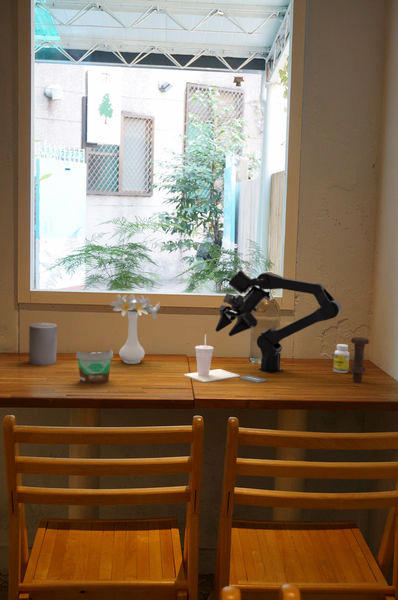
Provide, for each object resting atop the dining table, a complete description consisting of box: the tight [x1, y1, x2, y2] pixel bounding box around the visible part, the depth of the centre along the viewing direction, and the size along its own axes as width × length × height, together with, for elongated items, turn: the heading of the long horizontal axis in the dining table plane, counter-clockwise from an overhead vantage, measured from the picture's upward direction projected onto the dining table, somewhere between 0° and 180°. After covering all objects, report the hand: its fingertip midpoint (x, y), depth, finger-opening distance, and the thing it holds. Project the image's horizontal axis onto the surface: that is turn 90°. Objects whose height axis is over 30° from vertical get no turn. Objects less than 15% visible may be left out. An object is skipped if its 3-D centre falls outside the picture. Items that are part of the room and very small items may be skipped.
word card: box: [238, 374, 268, 384], centre depth 223 cm, size 5×8×1 cm, turn 48°
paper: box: [183, 368, 241, 383], centre depth 226 cm, size 16×11×1 cm
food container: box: [75, 348, 114, 385], centre depth 211 cm, size 12×6×10 cm, turn 117°
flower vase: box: [109, 293, 161, 365], centre depth 241 cm, size 13×18×25 cm
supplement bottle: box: [332, 343, 350, 374], centre depth 240 cm, size 5×5×10 cm
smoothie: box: [194, 333, 215, 376], centre depth 224 cm, size 6×6×14 cm
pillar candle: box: [28, 322, 58, 366], centre depth 236 cm, size 10×10×15 cm
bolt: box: [350, 337, 370, 383], centre depth 225 cm, size 6×5×15 cm
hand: (222, 333), depth 232 cm, fingers open, 9 cm apart
